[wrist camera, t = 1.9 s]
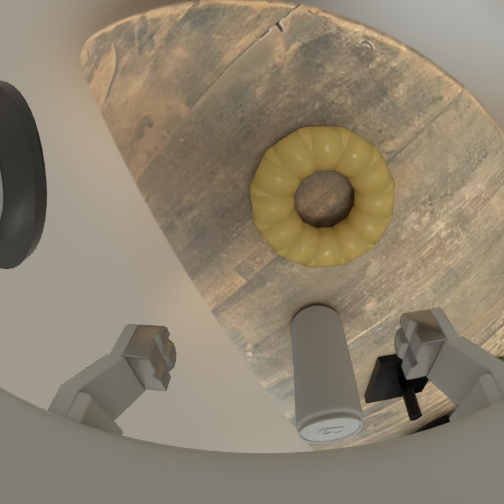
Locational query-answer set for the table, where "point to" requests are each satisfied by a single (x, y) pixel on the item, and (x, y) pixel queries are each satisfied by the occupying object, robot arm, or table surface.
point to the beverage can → (323, 378)
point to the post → (395, 385)
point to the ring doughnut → (304, 164)
